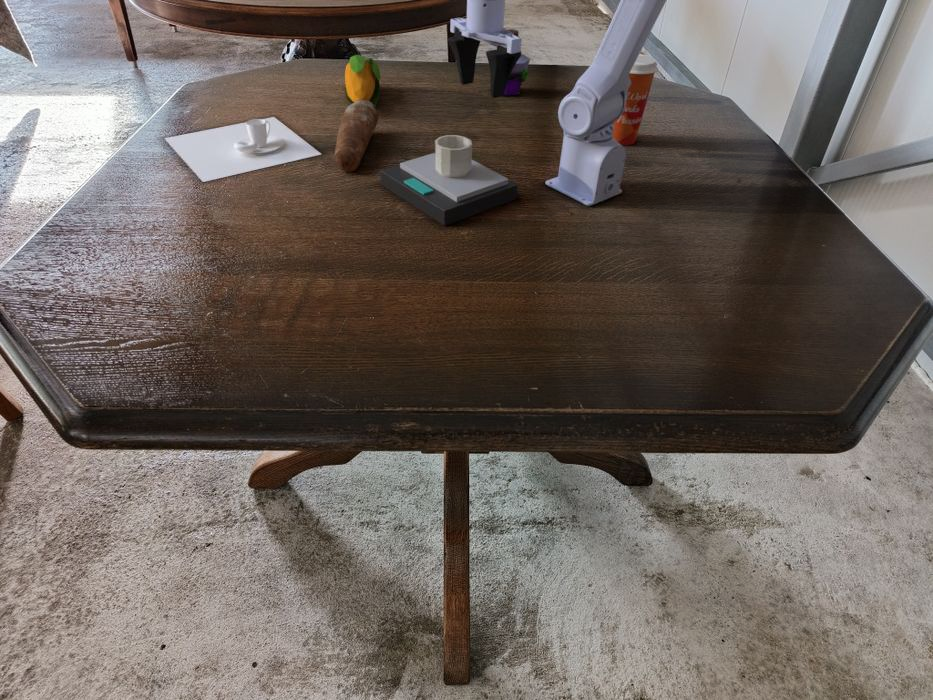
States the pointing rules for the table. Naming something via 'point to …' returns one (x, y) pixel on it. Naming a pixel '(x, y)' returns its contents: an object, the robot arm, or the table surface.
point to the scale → (448, 189)
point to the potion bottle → (517, 73)
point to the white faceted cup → (453, 155)
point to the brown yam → (354, 134)
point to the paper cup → (635, 100)
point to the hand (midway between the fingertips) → (481, 89)
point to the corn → (362, 80)
